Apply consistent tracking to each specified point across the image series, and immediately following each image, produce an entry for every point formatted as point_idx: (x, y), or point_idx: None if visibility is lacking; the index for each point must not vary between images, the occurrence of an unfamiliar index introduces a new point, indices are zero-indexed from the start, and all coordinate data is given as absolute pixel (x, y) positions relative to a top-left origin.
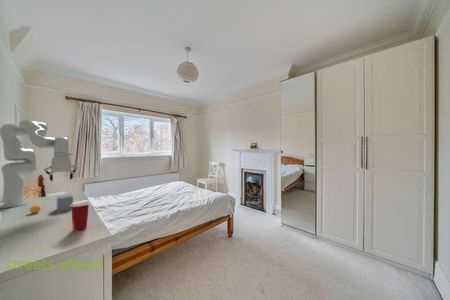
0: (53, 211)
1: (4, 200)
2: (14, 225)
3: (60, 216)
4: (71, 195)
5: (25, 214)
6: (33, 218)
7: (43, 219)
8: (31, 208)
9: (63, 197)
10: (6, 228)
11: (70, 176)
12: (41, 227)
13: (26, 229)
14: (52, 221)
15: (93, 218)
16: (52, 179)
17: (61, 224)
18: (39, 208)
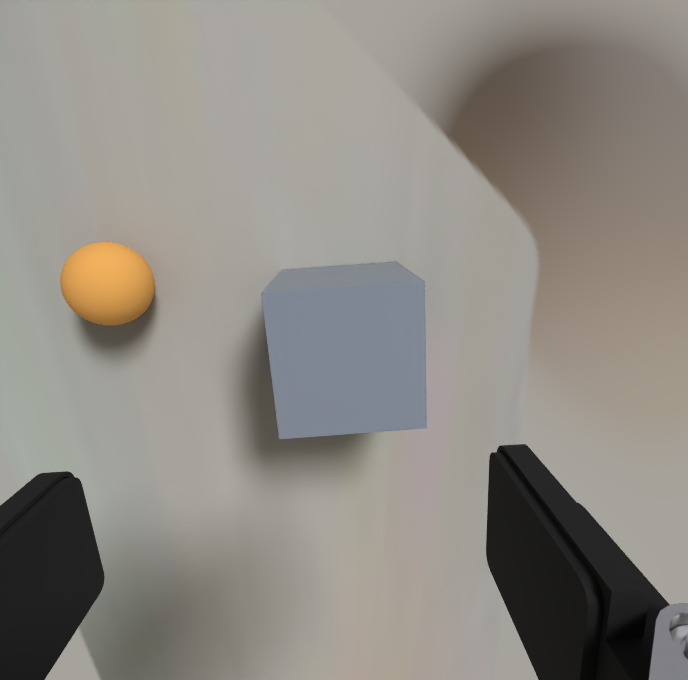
0: (263, 335)
1: None
2: None
3: (316, 520)
4: (420, 344)
5: None
6: (156, 453)
7: (223, 521)
8: (78, 313)
9: (334, 411)
10: None
11: (525, 641)
12: (235, 661)
13: (171, 648)
14: (277, 595)
15: (476, 676)
16: (76, 623)
17: (323, 673)
18: (144, 308)
